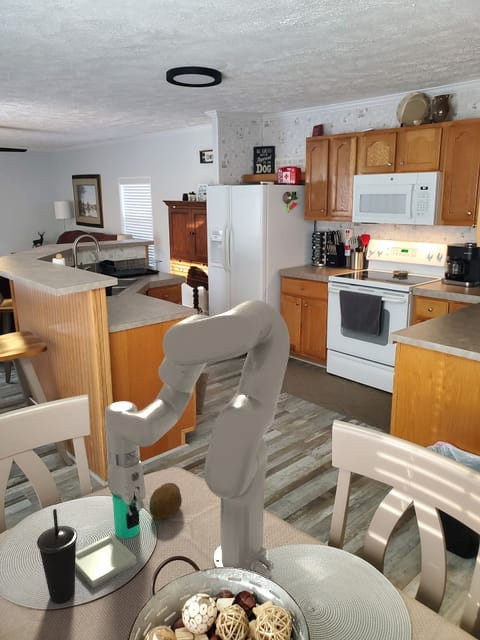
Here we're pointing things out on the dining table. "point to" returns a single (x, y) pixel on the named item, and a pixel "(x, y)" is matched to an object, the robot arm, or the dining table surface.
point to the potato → (165, 501)
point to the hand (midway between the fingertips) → (126, 520)
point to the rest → (103, 560)
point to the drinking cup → (59, 560)
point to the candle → (122, 519)
